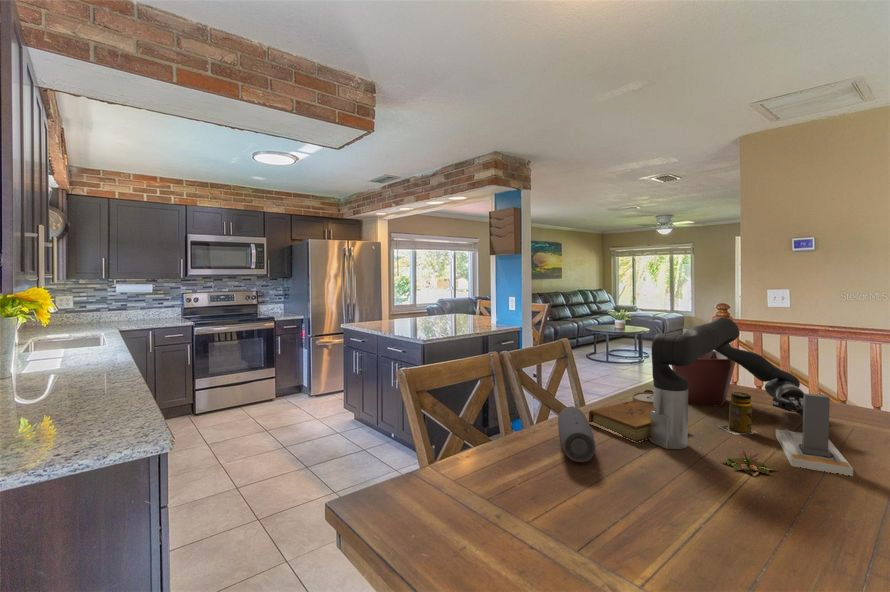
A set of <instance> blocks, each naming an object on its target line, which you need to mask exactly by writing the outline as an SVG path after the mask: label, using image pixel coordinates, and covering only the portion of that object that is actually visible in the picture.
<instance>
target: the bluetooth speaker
mask: <svg viewBox="0 0 890 592" xmlns="http://www.w3.org/2000/svg"><path fill="white" fill-rule="evenodd" d="M557 425H558V426H557V428H558V436H559V440H560V443H561V446H562V449H563V452H564V453H565V455H566V456H567V457H568V458H569V459H570V460H571V461H574V462H575V463H584V462H585V463H586V462H587V461H590V460H591V459H592V458H593V457H594V455H595V454H596V453H595V452H596V441H595V438H594V434H593V430H592V427H591V425H590V424H589V420H588V418H587V417H586V415H585V414H584V413H583V411H582V410H581V409H580V408H579V407H576V406H573V405H572V406H571V405H570V406H567V407H564V408H563V409H562V410H560V412H559V414H558V417H557Z"/></svg>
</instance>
